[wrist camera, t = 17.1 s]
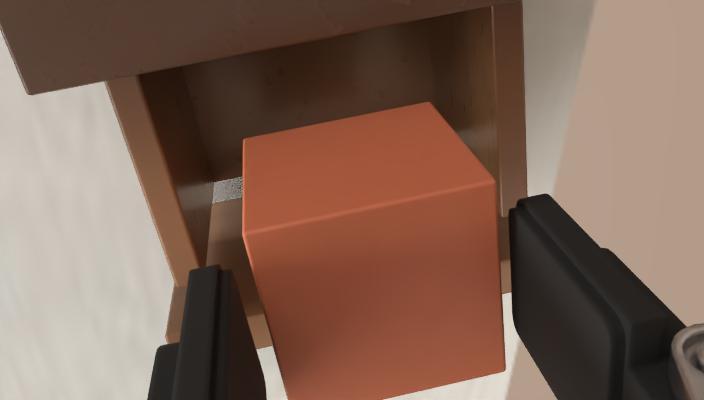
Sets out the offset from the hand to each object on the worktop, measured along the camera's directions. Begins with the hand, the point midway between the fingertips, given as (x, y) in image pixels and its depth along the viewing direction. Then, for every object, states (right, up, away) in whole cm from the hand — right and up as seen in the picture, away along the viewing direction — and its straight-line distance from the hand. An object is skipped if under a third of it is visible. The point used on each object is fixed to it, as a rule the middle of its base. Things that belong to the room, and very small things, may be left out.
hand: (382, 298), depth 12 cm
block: (-1, +2, +4) cm, 4 cm away
